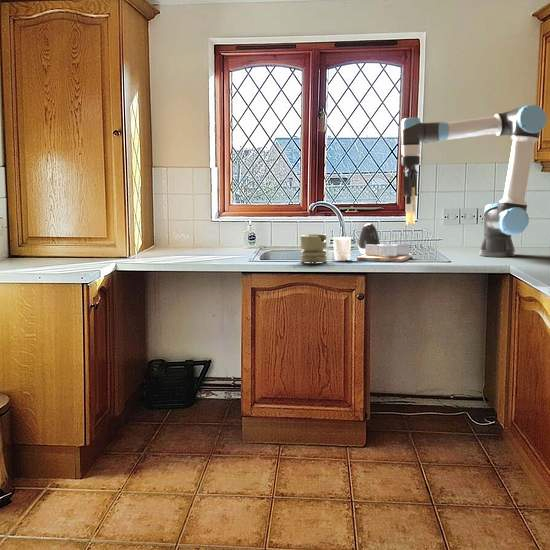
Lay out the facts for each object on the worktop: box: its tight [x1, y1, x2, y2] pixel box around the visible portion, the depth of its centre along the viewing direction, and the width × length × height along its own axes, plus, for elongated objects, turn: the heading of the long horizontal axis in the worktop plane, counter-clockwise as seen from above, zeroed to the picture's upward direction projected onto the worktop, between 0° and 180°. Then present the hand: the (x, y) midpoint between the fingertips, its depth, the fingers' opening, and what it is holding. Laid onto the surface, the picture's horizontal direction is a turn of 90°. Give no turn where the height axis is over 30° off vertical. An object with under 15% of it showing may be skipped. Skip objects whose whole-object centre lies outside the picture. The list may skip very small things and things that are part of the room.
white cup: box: [332, 236, 352, 262], centre depth 287 cm, size 8×8×10 cm
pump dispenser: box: [357, 222, 381, 255], centre depth 303 cm, size 10×10×15 cm
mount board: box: [356, 253, 413, 263], centre depth 287 cm, size 20×16×2 cm
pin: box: [405, 187, 416, 226], centre depth 272 cm, size 4×4×16 cm
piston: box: [300, 233, 328, 263], centre depth 282 cm, size 11×12×11 cm
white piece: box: [366, 243, 410, 257], centre depth 287 cm, size 18×12×5 cm, turn 62°
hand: (410, 211), depth 272 cm, fingers closed on pin, 4 cm apart
